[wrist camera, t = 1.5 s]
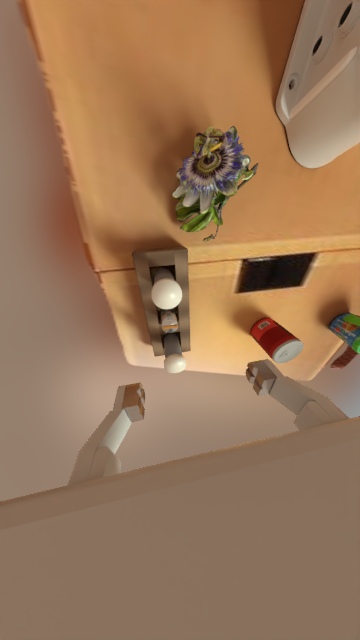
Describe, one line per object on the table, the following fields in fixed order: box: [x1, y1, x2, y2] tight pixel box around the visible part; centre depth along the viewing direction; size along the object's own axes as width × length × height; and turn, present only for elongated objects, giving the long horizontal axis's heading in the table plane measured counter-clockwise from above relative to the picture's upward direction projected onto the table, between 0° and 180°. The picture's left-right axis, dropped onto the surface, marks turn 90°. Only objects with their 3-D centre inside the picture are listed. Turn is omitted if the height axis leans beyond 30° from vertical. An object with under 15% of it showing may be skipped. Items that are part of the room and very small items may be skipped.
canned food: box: [251, 318, 303, 363], centre depth 41 cm, size 8×8×11 cm
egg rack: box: [132, 247, 190, 356], centre depth 35 cm, size 26×10×4 cm, turn 3°
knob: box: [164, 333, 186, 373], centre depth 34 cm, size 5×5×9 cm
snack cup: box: [329, 313, 360, 353], centre depth 46 cm, size 16×10×10 cm
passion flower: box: [172, 126, 258, 241], centre depth 23 cm, size 11×11×12 cm
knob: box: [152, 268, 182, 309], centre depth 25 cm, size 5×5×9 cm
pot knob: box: [161, 308, 178, 333], centre depth 31 cm, size 3×3×6 cm
